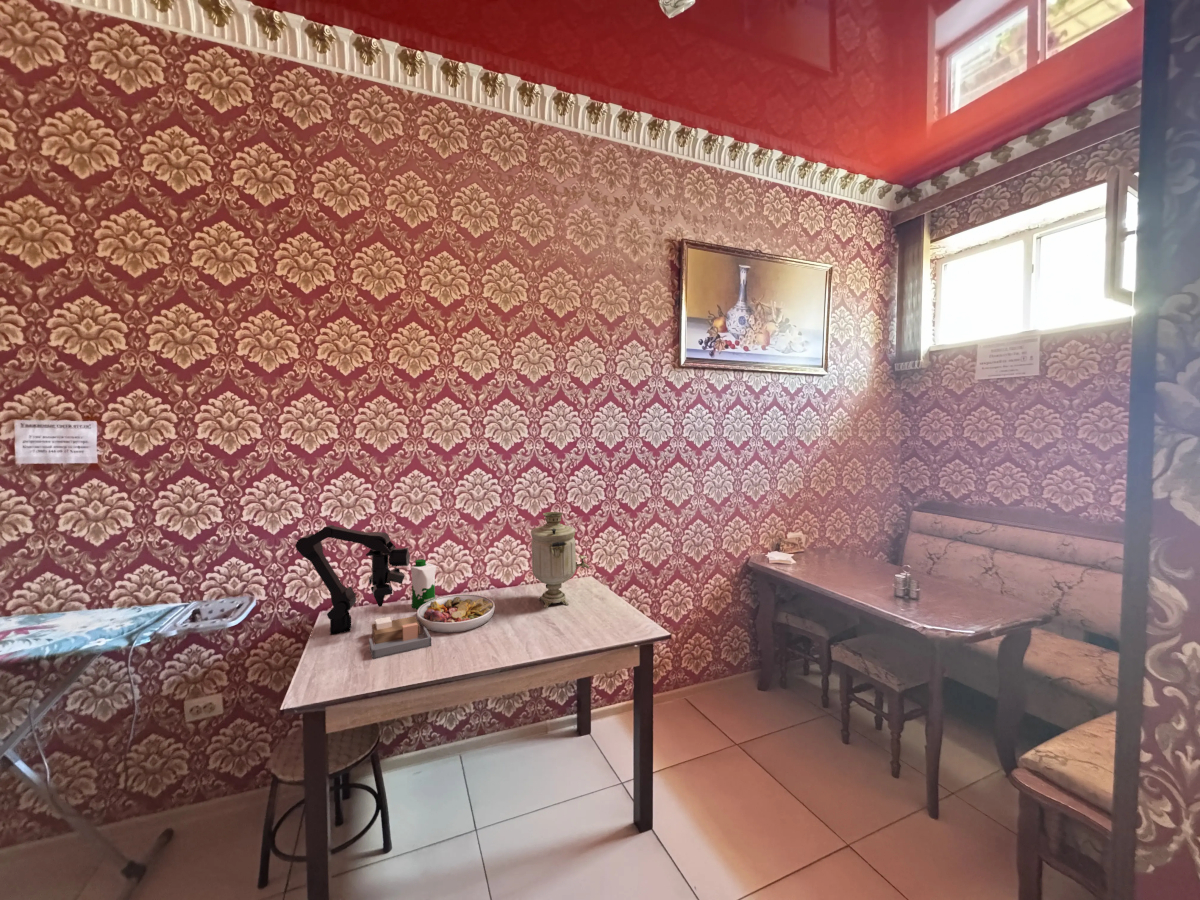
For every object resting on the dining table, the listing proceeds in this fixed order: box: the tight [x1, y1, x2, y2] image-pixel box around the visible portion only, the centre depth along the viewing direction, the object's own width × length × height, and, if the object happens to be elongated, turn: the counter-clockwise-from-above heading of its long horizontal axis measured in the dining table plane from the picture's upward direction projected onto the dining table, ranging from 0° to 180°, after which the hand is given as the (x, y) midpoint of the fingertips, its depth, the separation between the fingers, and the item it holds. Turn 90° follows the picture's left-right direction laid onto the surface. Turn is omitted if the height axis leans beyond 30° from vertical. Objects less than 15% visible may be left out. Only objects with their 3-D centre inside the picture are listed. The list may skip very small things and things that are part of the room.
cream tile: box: [374, 616, 392, 630], centre depth 173 cm, size 5×5×2 cm
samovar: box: [530, 511, 591, 609], centre depth 207 cm, size 30×26×40 cm
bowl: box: [416, 593, 496, 633], centre depth 189 cm, size 30×30×8 cm
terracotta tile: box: [402, 623, 418, 641], centre depth 170 cm, size 5×5×2 cm
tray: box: [368, 627, 432, 660], centre depth 165 cm, size 19×10×3 cm, turn 122°
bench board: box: [371, 615, 421, 645], centre depth 174 cm, size 15×10×4 cm, turn 122°
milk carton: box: [410, 558, 438, 611], centre depth 200 cm, size 9×9×20 cm
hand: (380, 606), depth 179 cm, fingers closed
